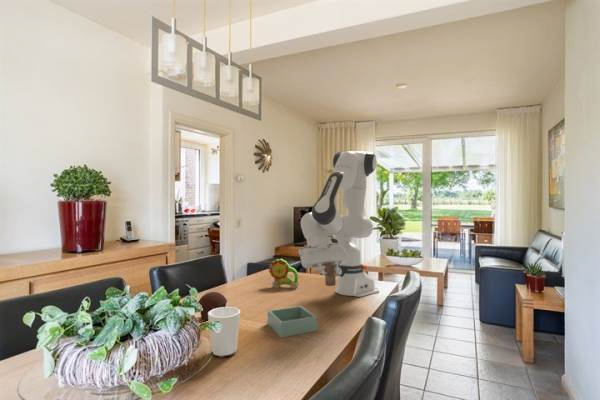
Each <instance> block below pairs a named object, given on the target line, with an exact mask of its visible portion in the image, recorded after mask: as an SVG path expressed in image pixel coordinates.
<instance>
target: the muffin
mask: <svg viewBox="0 0 600 400" xmlns="http://www.w3.org/2000/svg"><path fill="white" fill-rule="evenodd" d="M198 302H199V303H200V304H201V305H202V308H203V311H201V312H200V319H201V321H202V320H203V322H205V321H208V312H209V311H211V310H213V309H216V308H220V307H227V303H228V300H227V298H226V297H225V296H224V295H223V294H221V293H220V292H218V291H209V292H206V293H205V294H203V295H202V296H201V297H200V299H199V300H198Z"/></svg>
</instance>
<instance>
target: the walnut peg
mask: <svg viewBox="0 0 600 400" xmlns="http://www.w3.org/2000/svg"><path fill="white" fill-rule="evenodd" d="M324 269H326V271H327V275H324V279H325V281H324V283H325V284H324V285H325V286H327V287H334V286H337V284H336V283H337V282H336V274H335V264H333V263H328V264H325V266H324Z"/></svg>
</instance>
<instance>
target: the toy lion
mask: <svg viewBox="0 0 600 400" xmlns="http://www.w3.org/2000/svg"><path fill="white" fill-rule="evenodd" d="M268 268H269V270H268V272H269V274H270V275H271V277H272V278H273V279H274V281H272V287H273V288H275V289H277V288H279V287H281V286H283V285H288V286H289V287H290V288H291V289H292V290H295V289H297V288H298V286H299V274H298V271H297V269H296V268H294V267H292V266H290V264H289V263H288V261H287V260H285V259H283V258H280V259H278V258H277V259H275V260H273V261H272V262H270V265H269V267H268ZM290 272H291V273H293V274H294V279H293V278H291V277H290V276H288V274H289V273H290Z"/></svg>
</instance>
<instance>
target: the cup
mask: <svg viewBox="0 0 600 400" xmlns="http://www.w3.org/2000/svg"><path fill="white" fill-rule="evenodd" d="M240 318H241V310H240V309H239V308H238V307H234V306H226V307H220V308H216V309H213V310H211V311H209V312H208V320H209V321H219V322H220V323H221V324H222V326H223V329H222V331H221V332H220V333H215V332H213V331H211V330H209V338H210V347H212V348H213V349H214V355H213V356H214V357H215V356H217V357H218V358H220V359H223V358H225V357H226V356H229V357H232V356H234V355H235V353H236V352H237V350H238V342H239V332H240V331H239V328H240V321H241V319H240Z"/></svg>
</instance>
